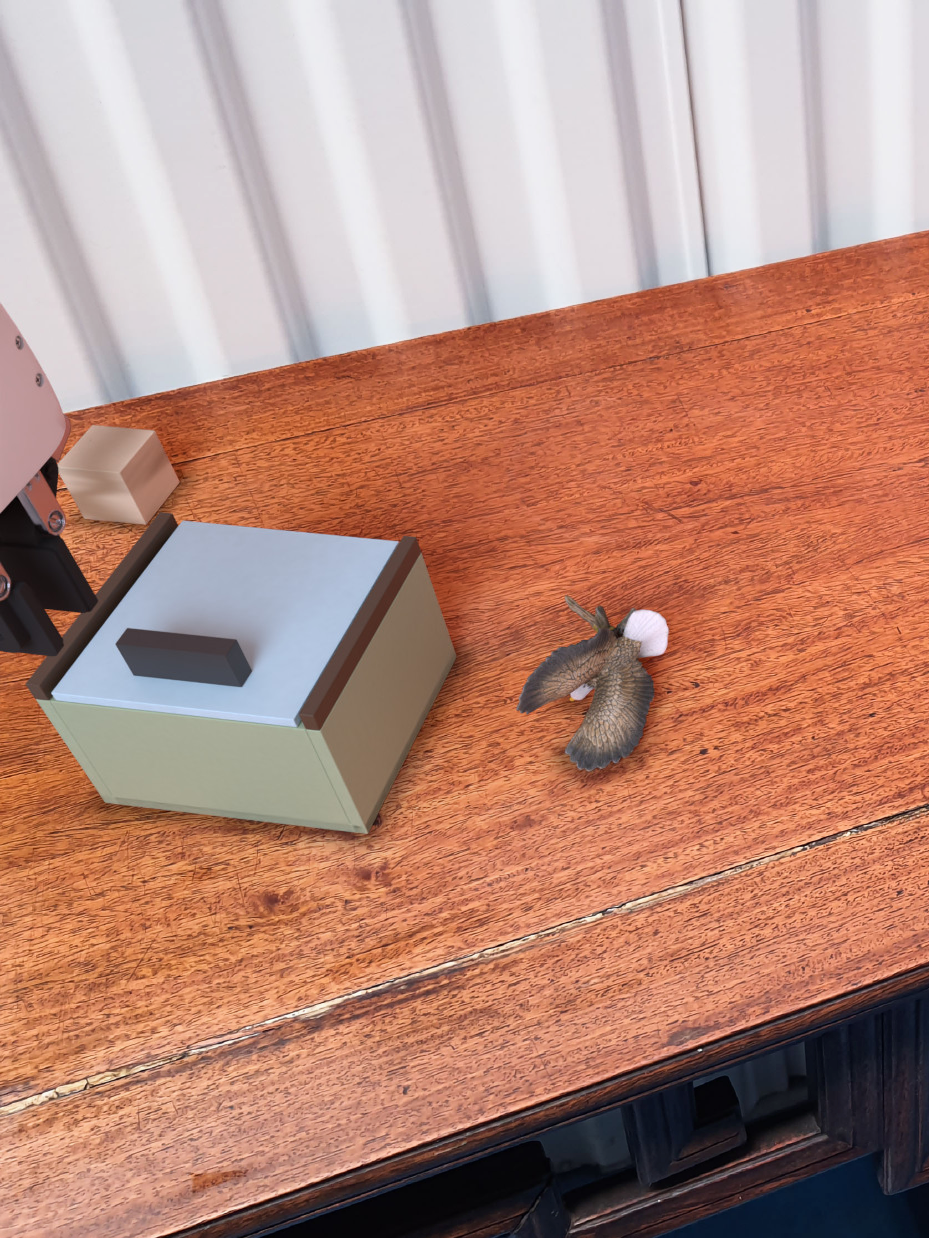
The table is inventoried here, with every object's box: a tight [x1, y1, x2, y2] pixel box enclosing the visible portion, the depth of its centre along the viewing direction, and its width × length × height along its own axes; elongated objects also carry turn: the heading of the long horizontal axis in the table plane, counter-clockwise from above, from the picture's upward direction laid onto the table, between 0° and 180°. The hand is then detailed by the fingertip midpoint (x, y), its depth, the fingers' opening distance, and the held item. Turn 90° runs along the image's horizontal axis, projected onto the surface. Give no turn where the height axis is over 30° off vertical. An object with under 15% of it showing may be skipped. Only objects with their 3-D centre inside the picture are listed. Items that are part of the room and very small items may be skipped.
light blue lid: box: [51, 520, 400, 727], centre depth 75 cm, size 13×14×3 cm
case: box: [25, 511, 457, 835], centre depth 79 cm, size 16×14×10 cm
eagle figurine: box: [515, 595, 670, 773], centre depth 81 cm, size 8×7×9 cm
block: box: [57, 424, 181, 526], centre depth 95 cm, size 5×5×5 cm
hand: (46, 624), depth 62 cm, fingers closed
